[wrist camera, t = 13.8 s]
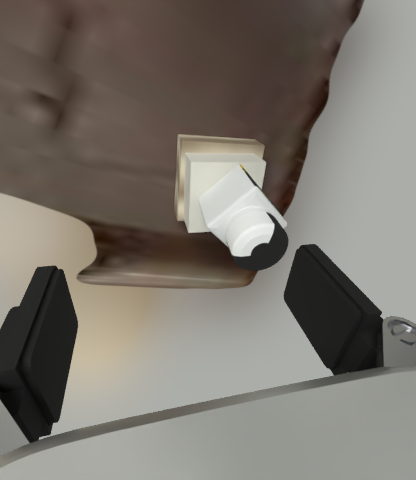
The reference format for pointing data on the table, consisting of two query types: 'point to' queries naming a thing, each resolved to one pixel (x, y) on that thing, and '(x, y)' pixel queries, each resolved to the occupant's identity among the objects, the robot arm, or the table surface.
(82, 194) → the table surface
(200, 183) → the tower top block
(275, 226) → the medicine bottle
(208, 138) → the tower base block
